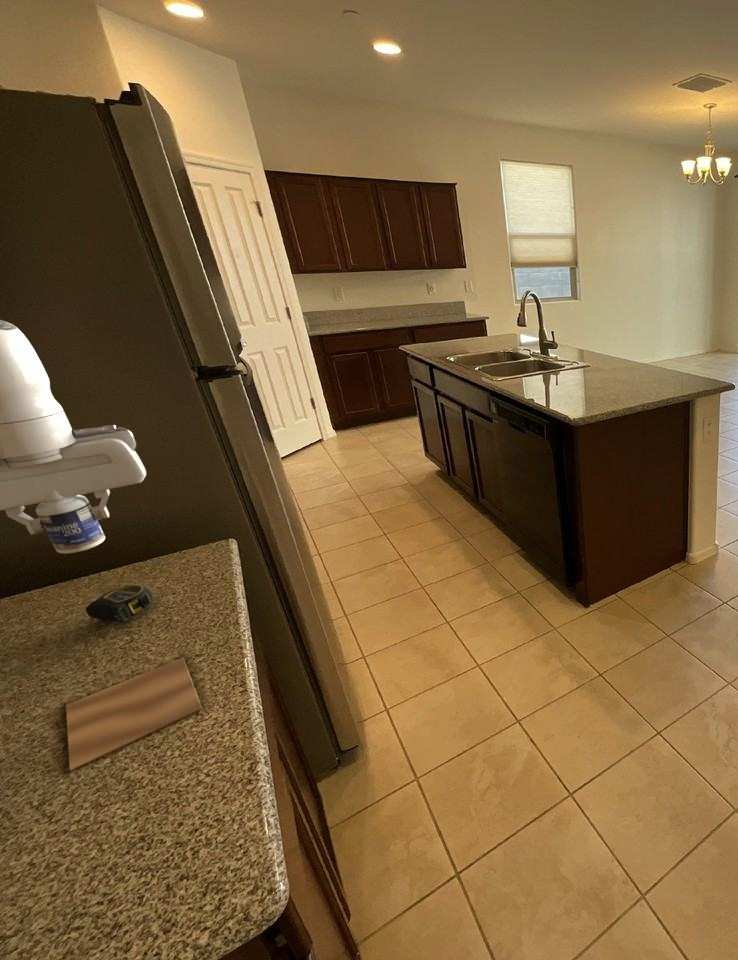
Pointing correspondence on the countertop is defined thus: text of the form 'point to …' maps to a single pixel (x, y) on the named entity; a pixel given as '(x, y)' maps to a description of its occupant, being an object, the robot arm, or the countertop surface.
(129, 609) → the tape measure
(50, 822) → the countertop surface
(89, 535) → the pill bottle
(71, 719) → the wooden board
